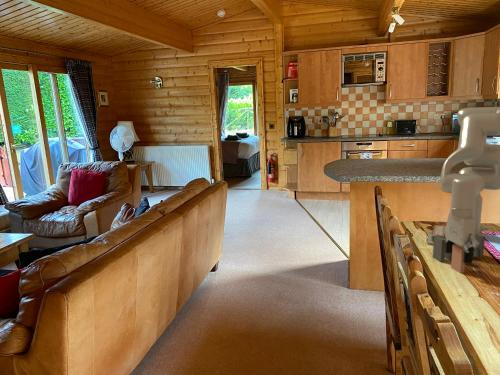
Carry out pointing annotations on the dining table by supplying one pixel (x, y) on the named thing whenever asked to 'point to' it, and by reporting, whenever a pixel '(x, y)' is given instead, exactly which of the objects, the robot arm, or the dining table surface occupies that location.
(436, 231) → the packaged product
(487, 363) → the dining table surface
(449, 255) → the domino
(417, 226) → the dining table surface
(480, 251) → the domino
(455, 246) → the domino
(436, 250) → the domino
